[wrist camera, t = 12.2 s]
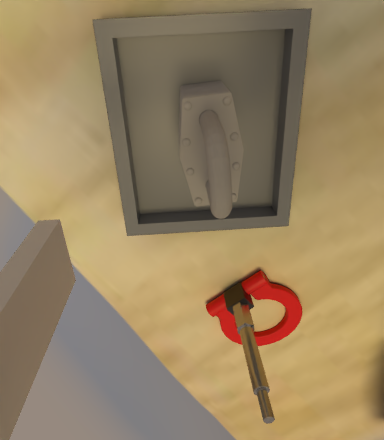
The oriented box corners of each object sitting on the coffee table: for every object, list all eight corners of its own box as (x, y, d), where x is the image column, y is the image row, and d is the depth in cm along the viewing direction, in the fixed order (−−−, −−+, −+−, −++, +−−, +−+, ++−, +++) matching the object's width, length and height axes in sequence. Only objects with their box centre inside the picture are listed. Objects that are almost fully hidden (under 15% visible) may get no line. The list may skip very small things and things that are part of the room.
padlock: (234, 174, 27) (263, 243, 19) (184, 180, 27) (189, 252, 19) (229, 78, 24) (261, 108, 15) (171, 86, 24) (170, 119, 15)
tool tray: (298, 10, 23) (311, 8, 21) (280, 211, 30) (288, 225, 28) (100, 20, 23) (92, 19, 20) (130, 220, 30) (127, 235, 28)
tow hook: (312, 311, 37) (266, 260, 33) (376, 441, 26) (318, 389, 22) (248, 348, 39) (197, 305, 35) (281, 480, 28) (212, 440, 24)
